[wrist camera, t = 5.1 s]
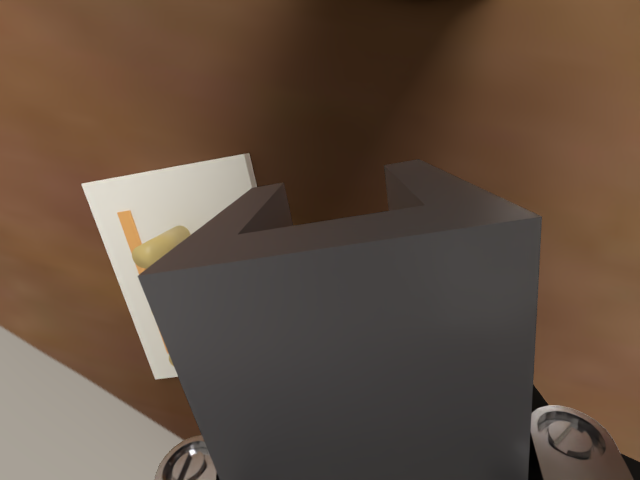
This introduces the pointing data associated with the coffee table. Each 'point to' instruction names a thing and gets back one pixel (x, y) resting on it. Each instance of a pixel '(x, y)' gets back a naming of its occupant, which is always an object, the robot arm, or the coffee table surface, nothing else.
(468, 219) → the block
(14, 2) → the coffee table surface
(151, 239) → the board
